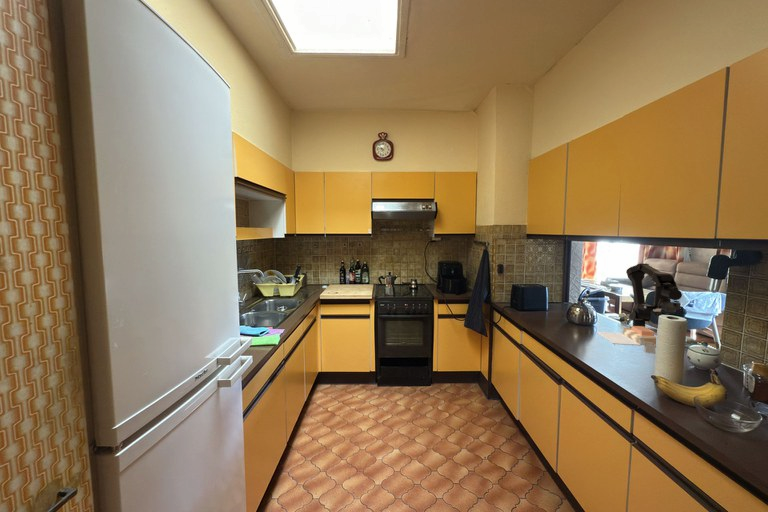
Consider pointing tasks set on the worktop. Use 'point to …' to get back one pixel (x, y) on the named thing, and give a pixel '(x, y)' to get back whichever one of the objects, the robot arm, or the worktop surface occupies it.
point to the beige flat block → (647, 346)
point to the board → (634, 336)
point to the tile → (642, 331)
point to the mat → (618, 338)
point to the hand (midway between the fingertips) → (659, 323)
